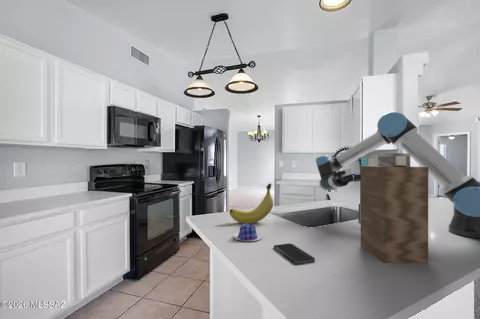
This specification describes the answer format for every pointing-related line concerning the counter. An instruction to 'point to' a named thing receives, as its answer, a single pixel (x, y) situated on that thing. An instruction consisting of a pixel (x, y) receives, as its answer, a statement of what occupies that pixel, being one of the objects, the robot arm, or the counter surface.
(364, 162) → the cream teal square bar
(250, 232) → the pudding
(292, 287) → the counter surface
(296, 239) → the counter surface
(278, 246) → the phone
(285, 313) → the counter surface
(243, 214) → the banana
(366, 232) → the stand
